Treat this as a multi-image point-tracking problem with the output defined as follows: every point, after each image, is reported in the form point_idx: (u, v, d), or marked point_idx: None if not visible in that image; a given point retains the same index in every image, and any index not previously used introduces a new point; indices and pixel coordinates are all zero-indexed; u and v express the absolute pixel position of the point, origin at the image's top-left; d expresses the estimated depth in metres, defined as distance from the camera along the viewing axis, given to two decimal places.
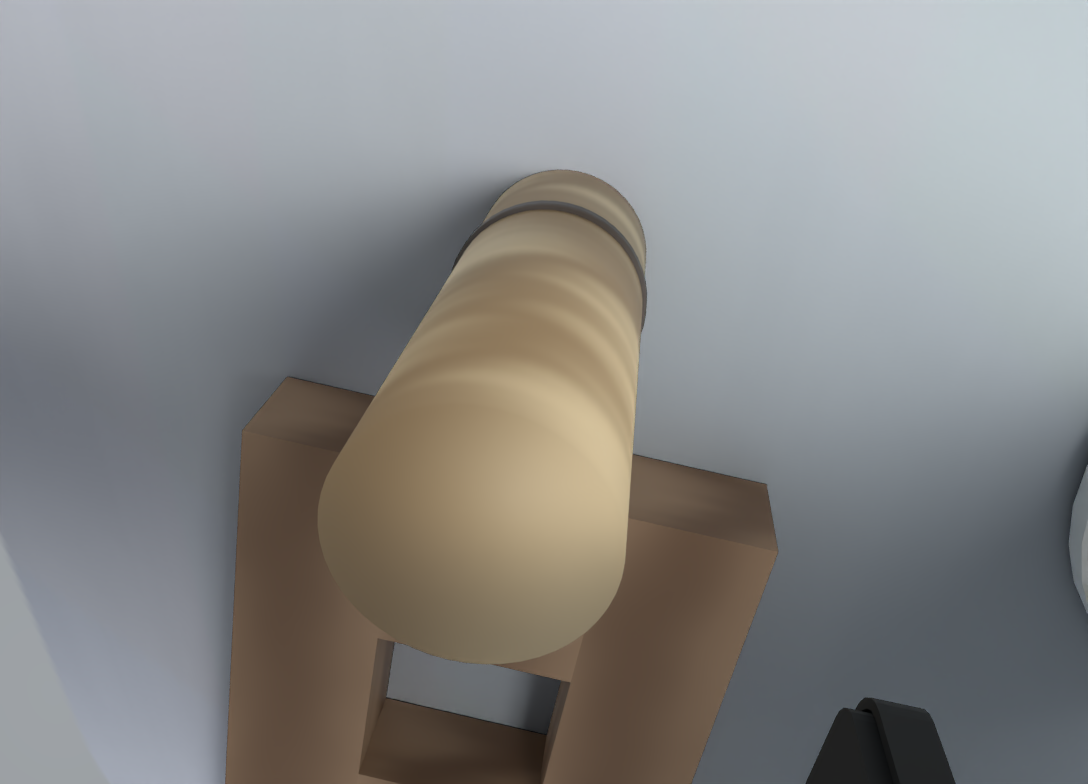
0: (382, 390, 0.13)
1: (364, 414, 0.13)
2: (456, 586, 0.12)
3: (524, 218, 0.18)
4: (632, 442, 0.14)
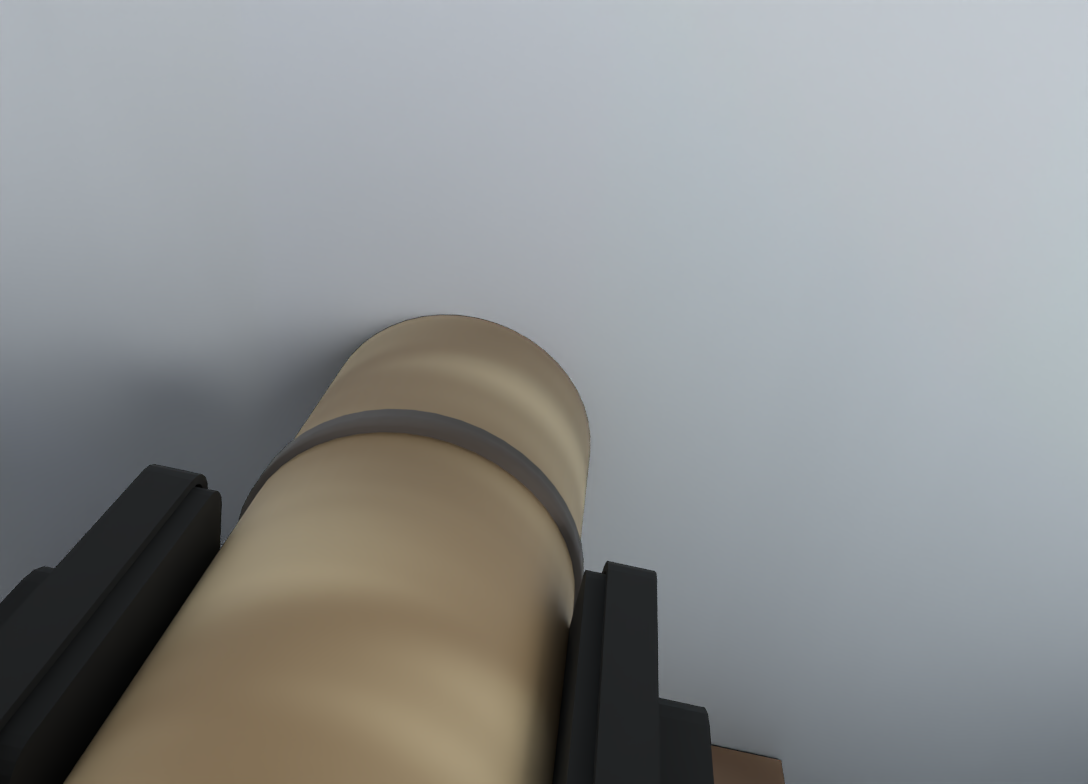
0: None
1: None
2: None
3: (348, 460, 0.10)
4: None
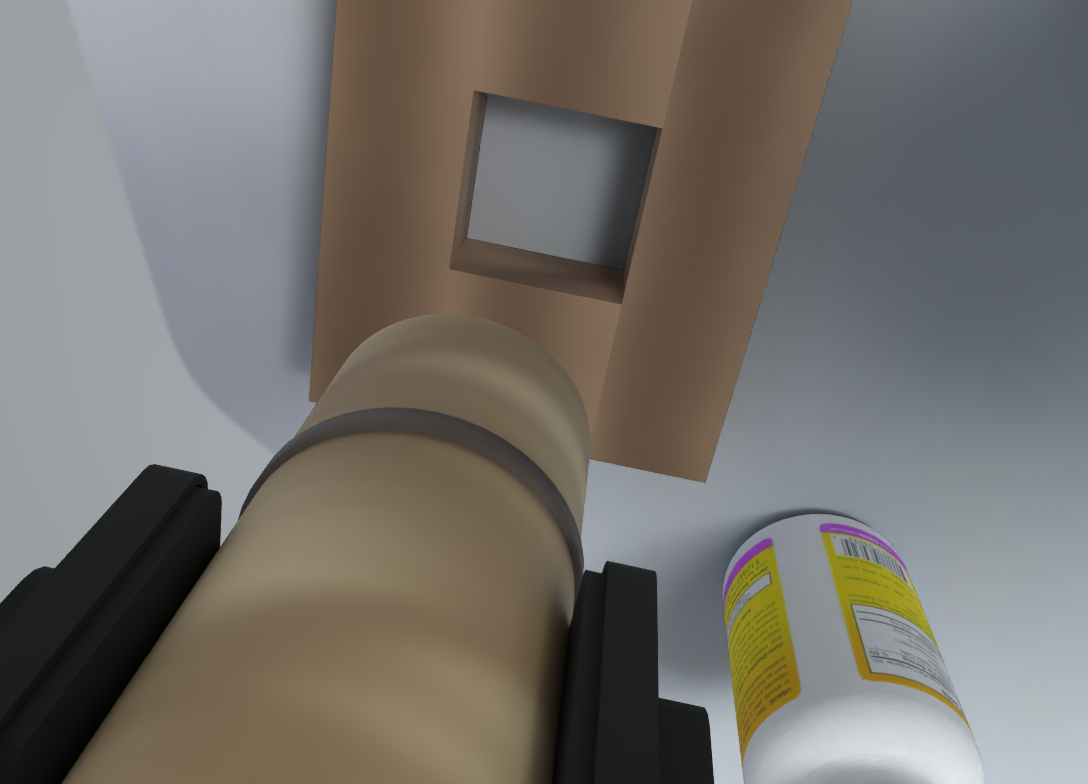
0: None
1: None
2: None
3: (347, 459, 0.10)
4: None
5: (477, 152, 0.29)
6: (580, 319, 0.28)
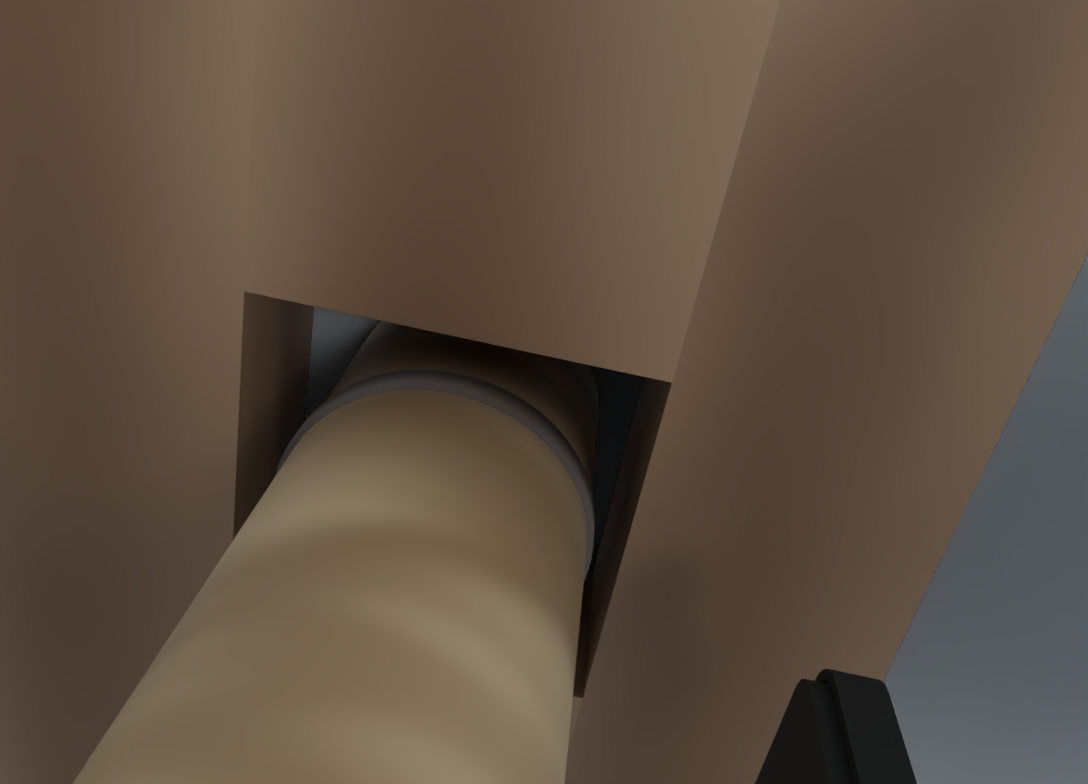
0: None
1: None
2: None
3: (380, 414, 0.11)
4: None
5: (301, 368, 0.15)
6: None
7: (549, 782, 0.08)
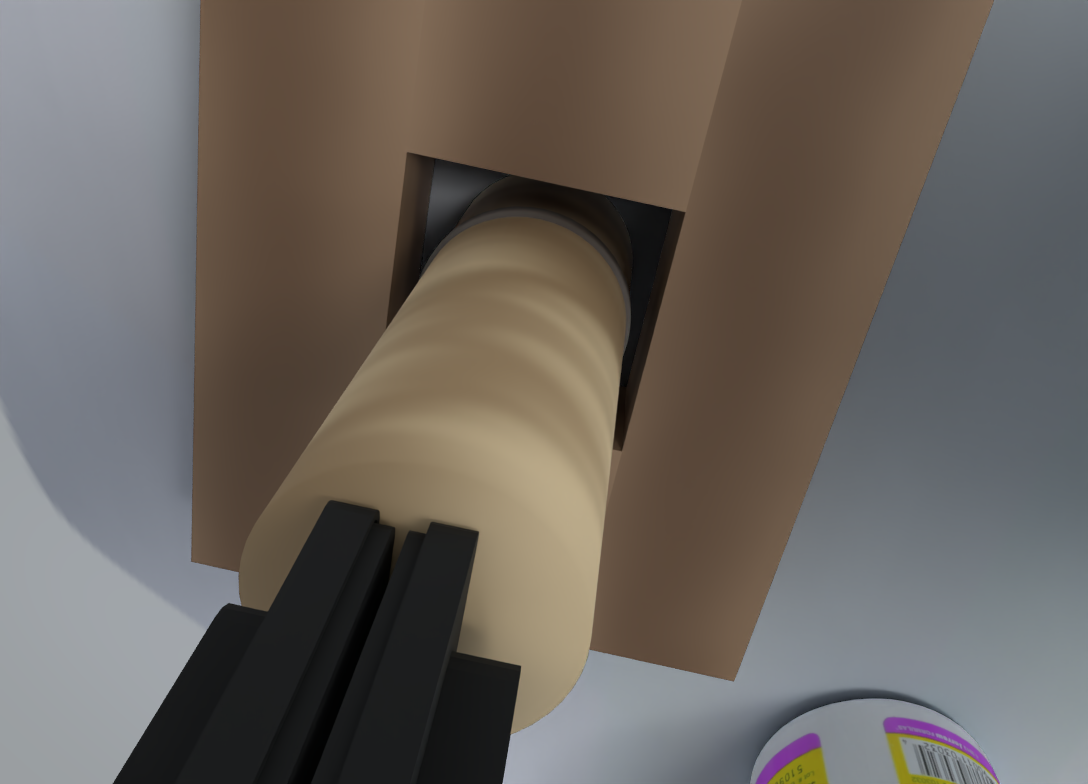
0: (317, 435, 0.11)
1: (295, 464, 0.11)
2: None
3: (495, 227, 0.17)
4: (606, 488, 0.13)
5: (422, 228, 0.21)
6: None
7: (608, 400, 0.14)
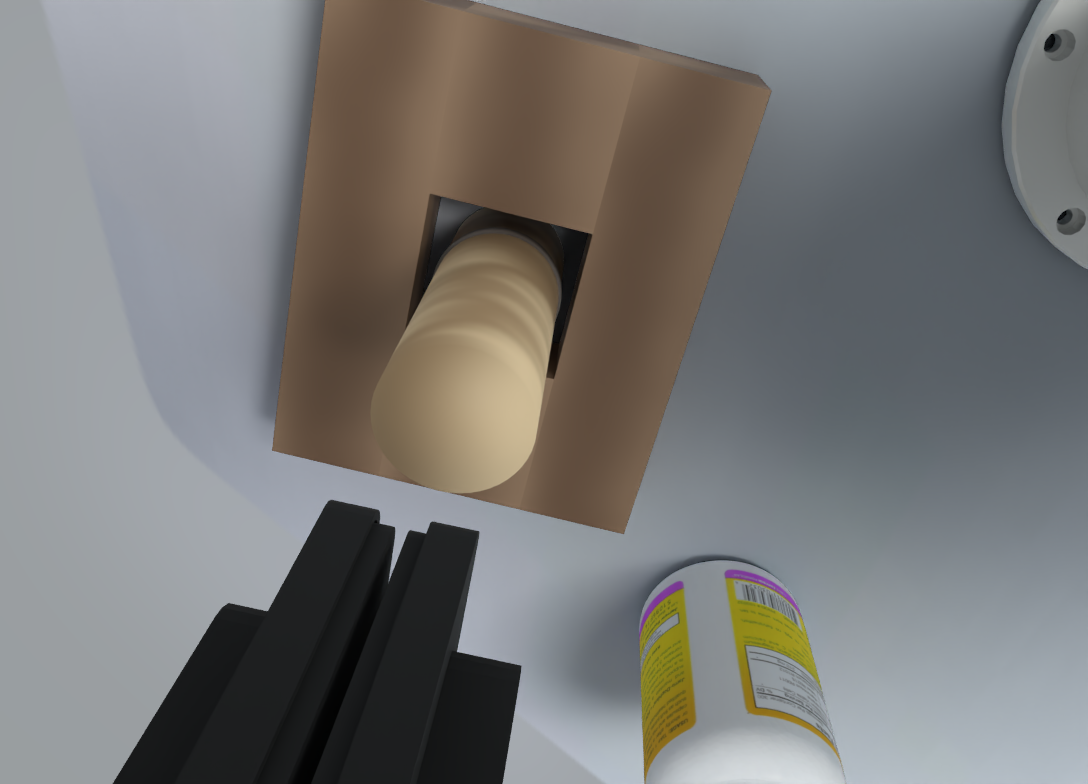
0: (404, 340, 0.23)
1: (395, 352, 0.23)
2: (445, 446, 0.23)
3: (483, 239, 0.29)
4: (544, 374, 0.25)
5: (431, 237, 0.33)
6: None
7: (547, 334, 0.26)
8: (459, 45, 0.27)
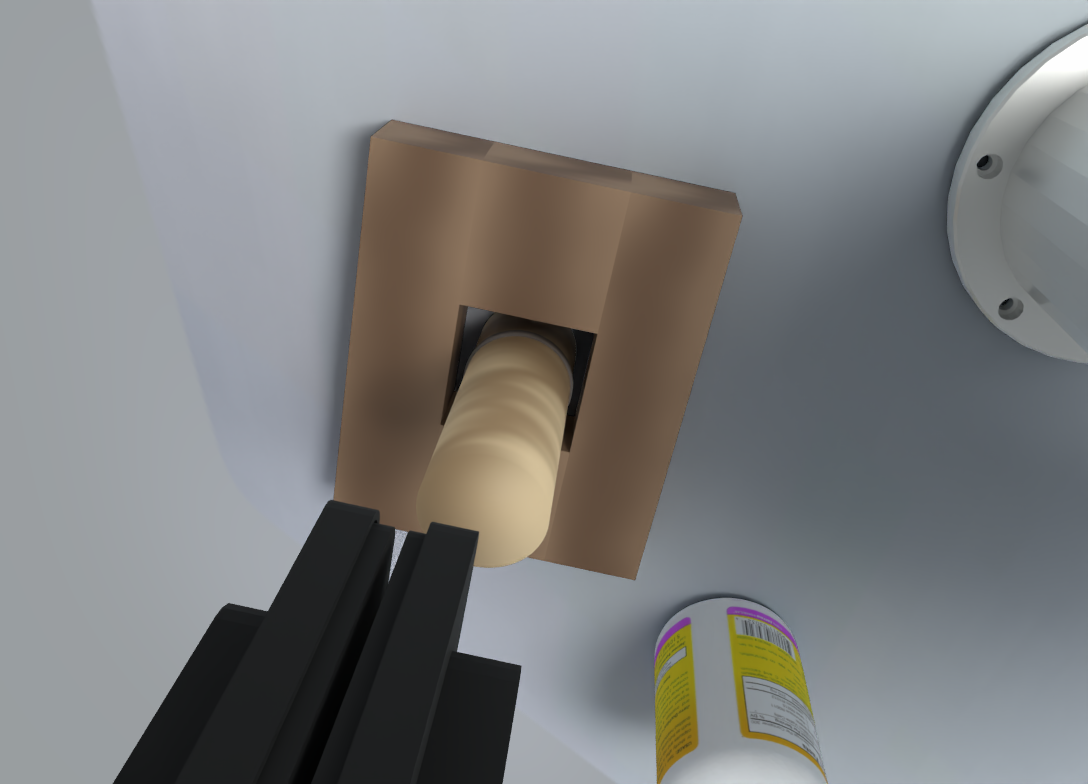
0: (441, 445, 0.29)
1: (434, 456, 0.29)
2: None
3: (505, 342, 0.34)
4: (556, 466, 0.30)
5: (462, 332, 0.38)
6: None
7: (558, 428, 0.32)
8: (480, 187, 0.33)
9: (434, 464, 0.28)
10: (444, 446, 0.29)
